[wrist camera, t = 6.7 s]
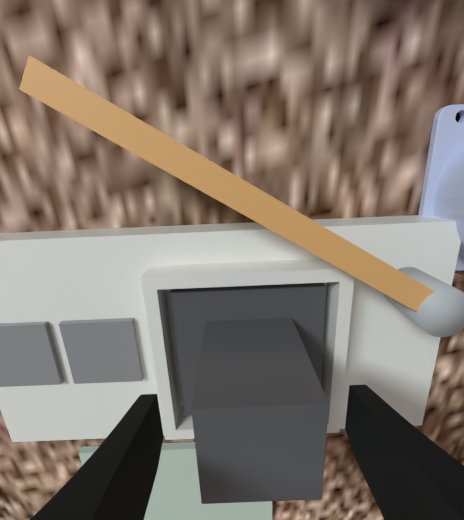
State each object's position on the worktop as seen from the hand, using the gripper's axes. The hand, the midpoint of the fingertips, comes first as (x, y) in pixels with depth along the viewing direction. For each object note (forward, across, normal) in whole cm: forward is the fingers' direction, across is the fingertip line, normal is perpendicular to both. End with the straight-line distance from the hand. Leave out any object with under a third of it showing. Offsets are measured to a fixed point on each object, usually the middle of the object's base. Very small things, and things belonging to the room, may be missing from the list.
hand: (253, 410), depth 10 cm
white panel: (+6, +2, 0) cm, 6 cm away
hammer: (+4, -1, -7) cm, 8 cm away
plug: (+4, 0, 0) cm, 4 cm away
